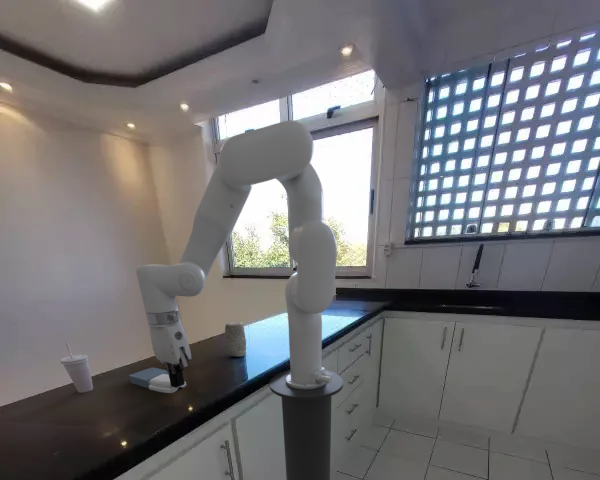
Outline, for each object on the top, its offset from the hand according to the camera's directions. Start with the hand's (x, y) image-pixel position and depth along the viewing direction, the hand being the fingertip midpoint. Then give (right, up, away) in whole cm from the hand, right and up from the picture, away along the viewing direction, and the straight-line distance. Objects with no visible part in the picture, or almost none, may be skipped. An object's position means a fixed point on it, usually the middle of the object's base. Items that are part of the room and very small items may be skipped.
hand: (178, 385), depth 85 cm
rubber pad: (-11, +2, +8) cm, 14 cm away
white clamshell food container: (-4, 0, +4) cm, 6 cm away
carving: (+11, +12, +28) cm, 32 cm away
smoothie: (-28, -1, +4) cm, 28 cm away
